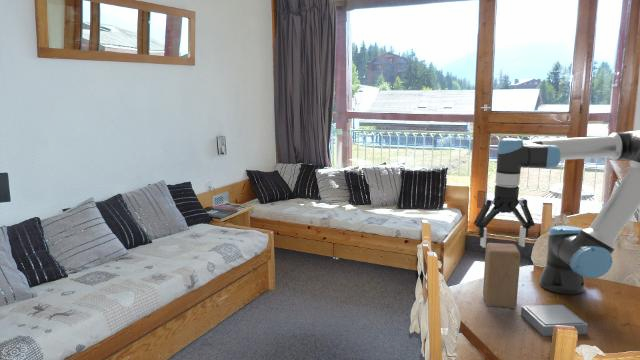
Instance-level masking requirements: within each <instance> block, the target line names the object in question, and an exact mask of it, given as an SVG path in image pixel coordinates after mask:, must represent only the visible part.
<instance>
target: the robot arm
mask: <svg viewBox="0 0 640 360" xmlns="http://www.w3.org/2000/svg"><path fill="white" fill-rule="evenodd" d="M497 145H498V146H497V152H496V154H497V156H496V158H497V159H496V171H495V186H494V198H493V199H489V198H484V203H483V206H482V207H481V209H480V211H479V213H478V215H477V216H476V218H475V219H474V221H473V225H474V226H475V227H476V228H478V235H477V236H478V237H479V238H480V240H479V241H480V244H479V245H480V246H481V248H484V249H486V245H487V233H488V232H487V230H488V229H487V228H486V227H487V226H488V225H489V224H490V223H491V222H492V221H493V219H494V218H495V217H496V216H497V215H499V214H500V213H501V214H505V213H508V214H510V213H513V215H514V216H515V218H516V219H517V220H518V221H519V222H520V224H521V225H520V226H519V235H518V246H520V247H521V248H525V246H526V245H525V244H526V243H525V242H526V237H528V236H529V229H531V227H535V222H534V220H533V219H534V218H533V217H532V214H531V211H530V210H529V207H528V200H527V199H525V198H523V197H521V198H520V199H519V195H520V190H519V189H520V187H519V186H520V183H521V182H520V181H521V170H522V169H523V168H525V169H526V168H533V169H537V168H538V169H551V168H553V169H554V168H557V167H558V166H559V164H560V162H561V160H563V161H565V160H581V159H600V158H601V159H602V158H606V159H607V158H609V159H611V160H613V161H627V162H628V163H629V166H630V168H629V169H628V171H627V173H626V174H625V175H624V177H623V179H622V180H621V181H620V183H619V184H618V186H617V187H616V188H615V190H614V191H613V192H612V194H611V195H610V197H609V198H608V200H607V201H606V202H605V204H604V205H603V207H602V208H601V210H600V211H599V212H598V214H597V216H596V217H595V218H594V220H593V221H592V222H591V224H590V225H589V227H586V228H582V227H579V226H578V227H577V226H571V225H555V226H552V227H550V228H549V230H548V231H549V232H548V234H547V235H548V236H547V237H548V241H547V254H546V263H545V266H544V268H543V270H542V273H541V274H540V276H539V285H540V286H541V287H542V288H544V289H545V290H547V291H550V292H553V293H556V294H561V295H579V294H582V293H583V292H585V286H586V285H585V279H584V278H586V279H597V278H600V277H602V276H604V275H606V274H607V273H608V272H609V271H611V268H612V266H613V263H614V262H613V256H612V254H613V253H614V251H615V250H616V246H615V241H616V239H618V237H619V235H620V234H621V233H622V231H623V230H624V228H625V227H626V225H627V224H628V223H629V221H630V220H631V219H632V217H633V216H634V214H635V213H636V211H637V210H638V209H639V207H640V129H638V130H629V131H621V132H619V131H618V132H611V133H609V135H605V136H604V135H602V136H586V137H584V136H583V137H567V138H550V139H548V138H547V139H536V140H535V139H532V140H531V139H530V140H526V139H521V138H512V137H511V138H510V137H509V138H508V137H504V138H501V139H500V140H499V142H498V144H497ZM521 168H522V169H521ZM518 205H519V206H520V208H521V210H522V212H523V215H524V217H525V218H524V217H523V215H522V214H521V213H520V212H519V209H518V208H517V206H518ZM492 206H493V207H492ZM491 207H492V208H491ZM490 208H491V209H490ZM489 210H490V211H489ZM488 211H489V212H488Z"/></svg>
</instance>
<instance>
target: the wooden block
mask: <svg viewBox="0 0 640 360" xmlns="http://www.w3.org/2000/svg"><path fill="white" fill-rule="evenodd" d="M484 256H485V257H484V269H483V270H484V272H483V287H482V288H483V289H482V294H483V298H484V299H483V300H484V302H485V305H486V306H488V307H495V308H496V307H498V308H510V309H515V308H516V307H517V305H518V293H519V291H518V289H519V282H520V281H519V278H520V267H521V253H520V251H519V249H518V247H517V246H516V245H515V244H514V243H501V242H499V243H498V242H486V248H485V255H484Z"/></svg>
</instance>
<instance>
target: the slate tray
mask: <svg viewBox="0 0 640 360" xmlns="http://www.w3.org/2000/svg"><path fill="white" fill-rule="evenodd" d="M520 315H521V316H522V317H523V319H525V321H527V322H528V323H529V324H530V325H531V326H532V327H533V328H534V329H536V330H537V332H538V333H540V335H541V336H543V337H545V336H547V337H549V336H553V335H552V333H553V326H554V325H568V326H574V327H575V328H576V329H577V331H578V334H577V335H587V334H588V332H589V324H588V323H587V322H586V321H584V320H583V319H582V318H580V317H579V316H578V315H577V314H575V313H574V312H572V311H571V309H569V308H568V307H567V306H565V305H564V304H545V305H544V304H542V305H541V304H540V305H539V304H538V305H521V310H520Z"/></svg>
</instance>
